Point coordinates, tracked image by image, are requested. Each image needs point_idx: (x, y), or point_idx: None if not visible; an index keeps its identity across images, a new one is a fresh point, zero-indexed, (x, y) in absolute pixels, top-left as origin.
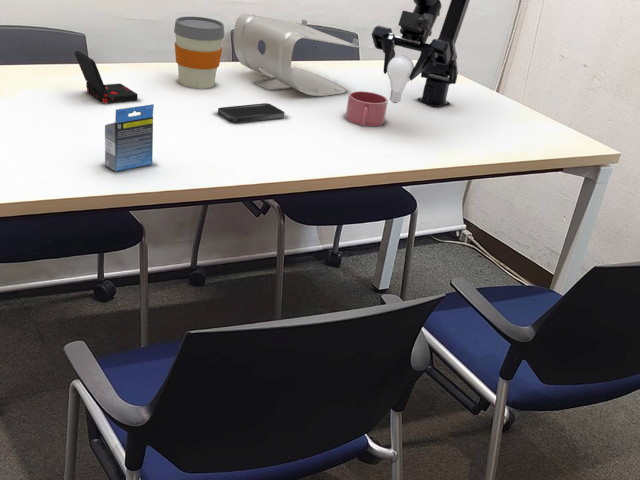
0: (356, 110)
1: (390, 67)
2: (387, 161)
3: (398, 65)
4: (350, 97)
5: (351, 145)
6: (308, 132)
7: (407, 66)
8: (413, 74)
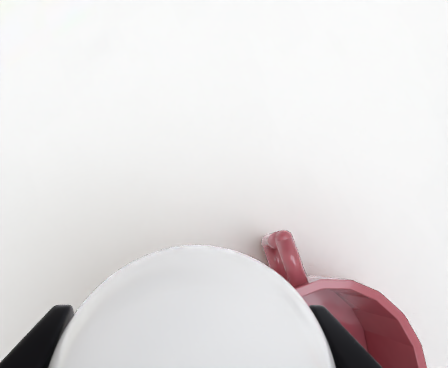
0: (328, 277)
1: (269, 267)
2: (84, 8)
3: (191, 261)
4: (393, 304)
5: (223, 64)
6: (363, 83)
7: (89, 310)
8: (30, 333)
